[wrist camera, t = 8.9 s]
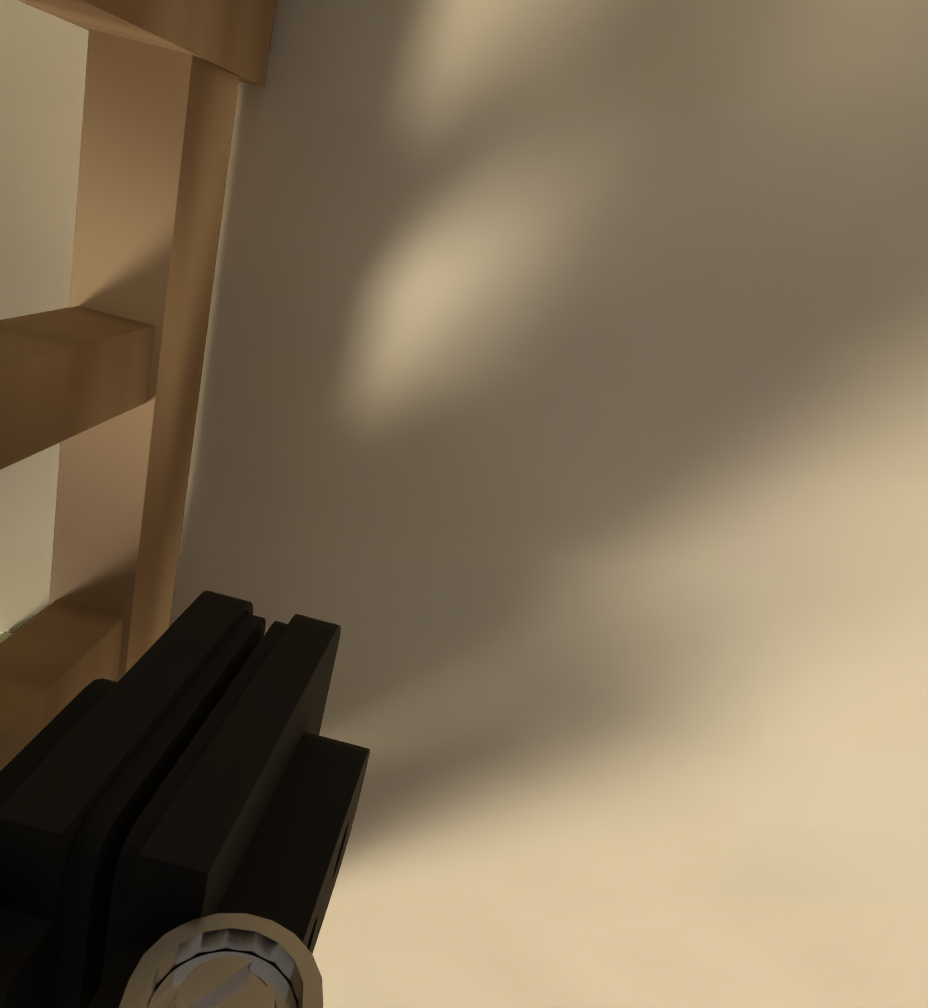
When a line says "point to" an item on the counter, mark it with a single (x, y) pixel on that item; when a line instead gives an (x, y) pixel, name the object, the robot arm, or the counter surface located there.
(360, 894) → the counter surface
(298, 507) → the counter surface
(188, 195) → the gate
